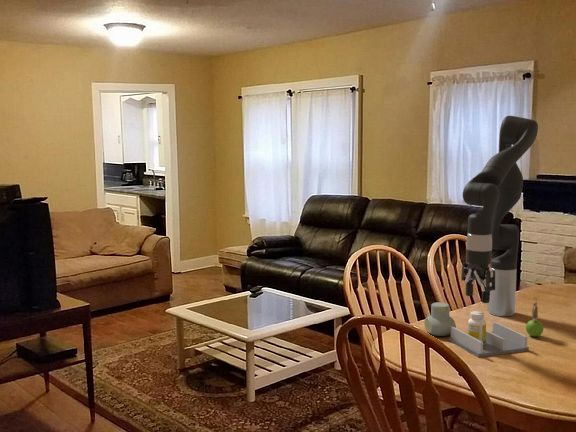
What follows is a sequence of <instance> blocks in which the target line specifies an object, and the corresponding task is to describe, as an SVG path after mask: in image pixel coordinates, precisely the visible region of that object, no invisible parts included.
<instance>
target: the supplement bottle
mask: <svg viewBox="0 0 576 432" xmlns="http://www.w3.org/2000/svg"><path fill="white" fill-rule="evenodd" d="M486 330H487V321H486V320H485V313H484V312H482V311H477V310H474V311H471V312H470V318H469V319H468V321H467V334H468V335H470V336H472V337H474V338H476V339H478V340H480V341H482V342H483V345H485V344H486Z"/></svg>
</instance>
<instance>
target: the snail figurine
mask: <svg viewBox="0 0 576 432" xmlns="http://www.w3.org/2000/svg"><path fill="white" fill-rule="evenodd" d="M532 299H533V300H535V301H533V302H532V310H531V311H532V312H531V314H532V319H531V320H529V321H527V323H526V325H525V331H526V333H527V335H529V336H531V337H539V336H541V335H542V334H543V332H544V325H543V323H542V322H541V321H540V320H538V318H539V314H538V309H539V307H538V306H537V305H538V301H537V300H538V298H537V297H533V298H532Z"/></svg>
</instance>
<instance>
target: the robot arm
mask: <svg viewBox="0 0 576 432" xmlns="http://www.w3.org/2000/svg"><path fill="white" fill-rule="evenodd" d="M538 131H539V124H538V122H537V121H536V120H533V119H531V118H526V117H521V116H516V115H506V116H505V117H504V118H503V119H502V121H501V125H500V127H499V134H498V135H499V138H498V153H496V154H495V155H493V156H492V157H490V158H489V159H488V161H487V162H486V164H485V165H484V167H482V170H481V172H479V173H477V174H476V175H475V176H474V177H473V178H472V179H470V180H469V181H468V182H467V183H466V184H465V186H464V187H463V190H462V200H463V202H464V203H466V204H467V205H469V206H477V207H482V210H481V212H476V213H471V214H470V215H469V216H468V218H467V237H466V243H465V245H466V248H465V262H462V264H461V265H462V267H461V281H462V282H464V284H465V296H466V297H471V296H473V295H474V284H473V283H474V282H475V281H476V282H477V283H478V285H479V286H480V288H481V290H482V291H481V303H482V304H486V306H487V307H486V311H488V313H489V314H491V315H494V316H497V317H512V316H514V315H516V314H515V313H516V312H515V311H516V297H517V296H516V292H517V268H518V267H517V265H518V253H519V242H520V231H519V230H520V229H519V227H518V226H517V225H516V224H512V223H511V224H509V223H508V224H507V223H505V224H504V223H503V224H501V223H502V221H503V219H504V217H505V216H506V215H507V214H508V213H509V211H510V210H512V208H514V207H515V206H516V204H517V203H518V202H519V201H520V199H521V197H522V193H523V187H524V186H523V185H524V177H523V174H522V171H521V169H520V167H519V166H518V164H517V162H518V161H519V160H520V159H521V158H522V157H523V156H524V154H525V153H526V152H527V151H528V150H529V149H530V148H531V147H532V145H533V144H534V143H535V140H536V139H537V135H538ZM493 250H502V251H503V250H506V251H505V252H504V253H503V254H500V255H498V256H496V257H492V256H493V254H492V253H493Z"/></svg>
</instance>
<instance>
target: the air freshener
mask: <svg viewBox="0 0 576 432" xmlns="http://www.w3.org/2000/svg"><path fill="white" fill-rule="evenodd" d="M430 306H431V307H430V309H431V310H430V315H428V316H427V317H426V318H425V319H424V322H423V323H424V327H425V330H426V332H428V333H429V334H430V335H432V336H437V337H445V336H446V337H447V336H451V327H455V328H457V324H456V322H455V320H454V318H453V317H451V316H450V305H449V304H448V303H447V302H440V301H439V302H433V303H431V305H430Z"/></svg>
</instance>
